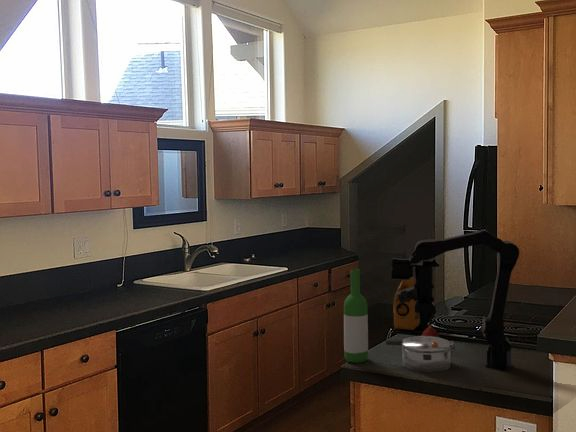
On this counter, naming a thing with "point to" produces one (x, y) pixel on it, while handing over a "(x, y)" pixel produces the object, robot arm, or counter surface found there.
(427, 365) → the cooker pot
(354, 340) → the wine bottle
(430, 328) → the onion
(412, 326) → the coffee package
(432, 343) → the lid
